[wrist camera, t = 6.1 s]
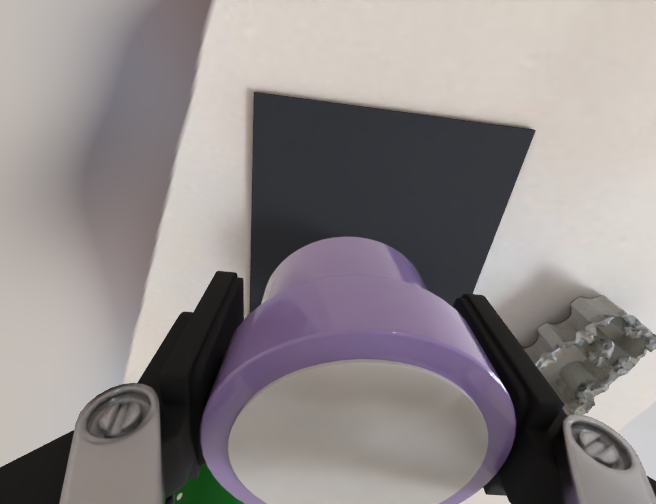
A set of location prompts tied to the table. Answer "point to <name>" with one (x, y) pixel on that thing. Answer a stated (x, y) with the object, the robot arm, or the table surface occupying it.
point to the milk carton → (204, 490)
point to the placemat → (379, 186)
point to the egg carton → (589, 351)
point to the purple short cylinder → (354, 389)
